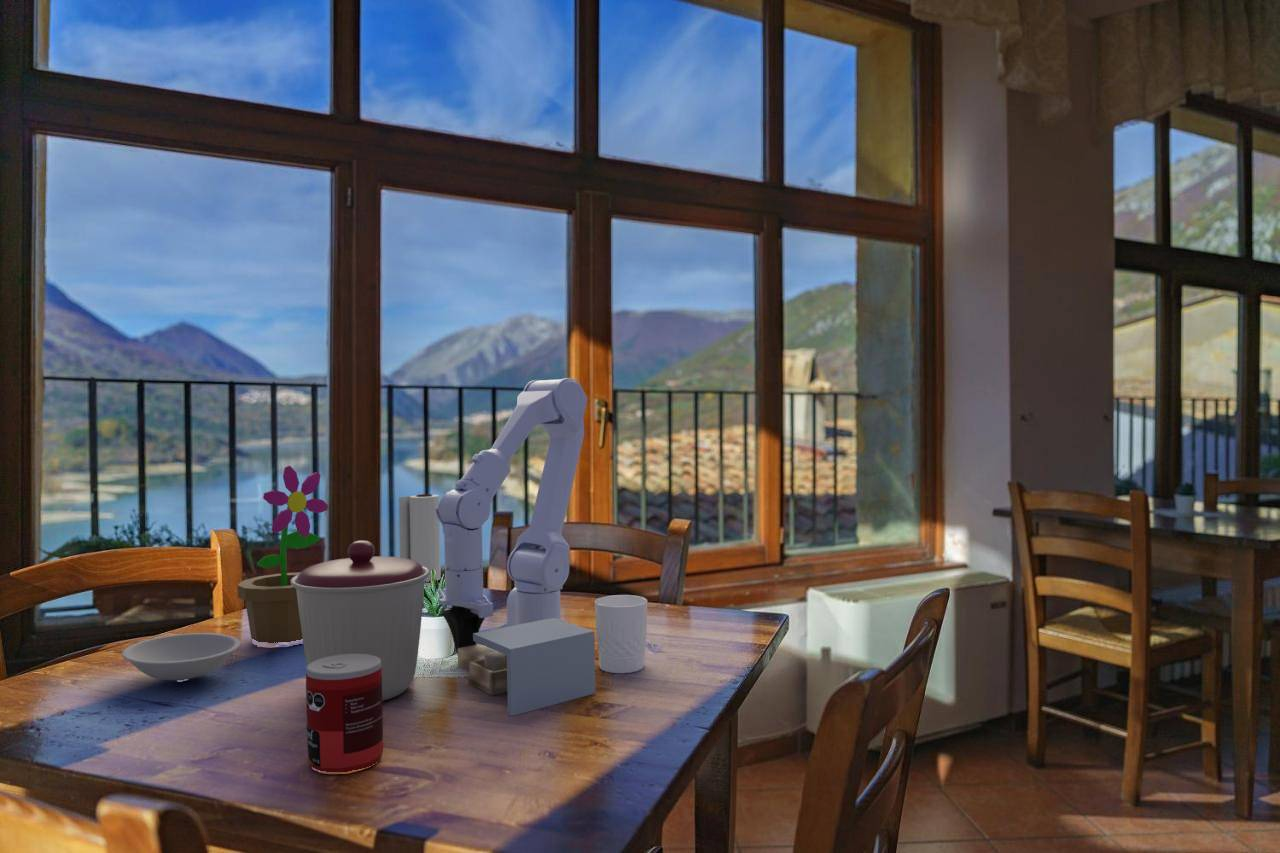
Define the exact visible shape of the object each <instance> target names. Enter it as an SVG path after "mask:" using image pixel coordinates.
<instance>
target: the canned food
mask: <svg viewBox="0 0 1280 853" xmlns="http://www.w3.org/2000/svg"><path fill="white" fill-rule="evenodd" d="M305 699H306V702H305V704H306V705H305V706H306V736H307V744H306V745H307V760H308V763H309V767H310V766H311V767H313V768H315V769H317V770H320V771H326V772H348V771H352V770H358V769H362V768H366V767H369V766H372V765H373V764H375V763H376V762H378V761H379V760H380V761H381V759H382V756H383V752H384V732H383V731H384V729H383V728H384V724H383V723H384V721H383V720H384V719H383V718H384V717H383V715H384V714H383V712H384V711H383V710H384V709H383V701H382V665H381V659H380V658H378V657H376V656H373V655H368V654H342V655H334V656H329V657H325V658H321V659H318V660H316V661H314V662H312V663H310V664H309V665H308V666H307V665H306V671H305ZM380 758H381V759H380ZM380 761H379V762H380ZM379 762H378V763H379ZM375 765H376V764H375ZM311 767H310V768H311Z"/></svg>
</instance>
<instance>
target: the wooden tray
mask: <svg viewBox="0 0 1280 853" xmlns="http://www.w3.org/2000/svg"><path fill="white" fill-rule="evenodd" d="M457 666H459V667H460V666H461V667H460V668H462V669H464V670H467V684H469V685H470V686H471V685H472V686H474V687H475V688H476V689H479V690H481V691H482V692H485V693H487V694H488V695H490V696H494V695H499V694H505V693H507V655H505V654H502V653H500V652H498V651H495V650H493V649H491V648H488V647H486V646H484V645H482V644H479V643H477V644H475V645H472V646H467V647H462V648H458V655H457Z"/></svg>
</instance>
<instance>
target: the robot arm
mask: <svg viewBox="0 0 1280 853" xmlns="http://www.w3.org/2000/svg"><path fill="white" fill-rule="evenodd" d="M516 401H517V404H516V407H515V408H514V410H513V412H512V413H511V414H510V417H509V418H508V420H507V421H506V423H505V425H504V426H503V428H502V430H501V431H500V433H499V434H498V436H497V438H496V440H495V441H494V442H493V445H492V446H491V448H490V449H483V450H481V451H479V453H475V454H474V455H473V457H472V458H470V461H471V462H472V463H470V466H468V469H467V470H466V472H465V473H464V474H463V475H462V477H461V479H458V480H457V481H456V483H455V487H454V489H450V490H449V491H446V492H445V493H444V494H443V495H442V496H441V498H440V499H439V507H438V508H436V516H437V518H438V520H439V521H440V525H442V534H443V535H444V536H443V537H444V540H443V541H444V543H443V544H444V582H445V583H444V584H445V586H444V587H445V588H441V589H440V590H438V594H439V595H440V596H441V597H442V598H441V599H439V600H438V599H437V602H438V604H439V605H441V606H451V607H450V609H446V610H443V611H442V617H443V619H445V621H446V623H447V625H448V627H449V630H450V633H451V636H452V640H453V643H454V648H455V651H456V655H457V656H458V648H462V647H467V646H472V645H477V644H476V643H477V642H475V641H473V633H479V632H480V629H481V626H482V624H483V623H484V621H485V619H486V618H489V617H494V604H493V602H491V601H489V599H488V598H487V597H486V595H485V594H484V573H483V572H484V570H483V568H484V567H483V525H484V524H485V523H486V522H487V521H488V520H489V518H490V514H491V504H492V502H493V498H494V496H495V495H496V494H497V492H498V491H499V489H500V487H501V486H502V485H503V483H504V482H505V480H506V478H507V477H508V476H509V474H510V472H511V465H510V460H511V459H512V458H513V456H514V455H515V454H516V452H517V450H519V448H520V447H521V446H522V445H523V443H524V442H525V441H526V439H527V438H528V437H529V435H530V434H531V433H532V431H533V430H534V429H535V428H536V427H537V426H538V425H540V426H541V427H542V428H543V430H544V431H545V432H546V433H547V435H548V436H549V438H550V440H549V444H548V448H547V451H546V457H545V460H544V465H543V470H542V473H541V478H540V481H539V486H538V491H537V494H536V498H535V503H534V505H533V510H532V515H531V519H530V524H529V527H528V528H527V529H526V530H525V531H523V532H522V533H521V534H520V535H518V537H517V539H516V544H515V546H514V548H513V549H512V550H511V552H510V554H509V556H508V557H507V561H506V571H507V575H508V576H509V578H510V579H511V580H512V581H514V583H513V584H514V588H513V589H511V591H510V592H509V594H508V596H507V600H506V623H507V624H506V627H509V626H514V625H519V624H524V623H529V622H535V621H540V620H545V619H550V618H556V619H559V620H562V619H561V590H563V586H564V584H565V583H566V581H567V579H568V577H569V574H570V562H569V560H570V559H569V557H570V556H569V555H570V550H571V547H570V545H569V543H568V542H567V541H566V539H565V537H564V536H563V534H562V533H563V529H564V525H565V519H566V516H567V511H568V507H569V504H570V499H571V494H572V491H573V490H572V489H573V486H574V485H573V484H574V480H575V478H576V473H577V468H578V464H579V458H580V455H581V451H582V445H583V441H584V437H585V423H584V420H585V419H584V416H585V412H586V408H587V403H588V397H587V394H586V393H585V390H584V389H583V388H582V386H581V384H580V383H579V381H578V380H576V379H575V378H572V377H566V378H561V379H546V380H545V379H544V380H541V379H534V380H530V381H529V382H527V383H526V385H525V386H524V388H523V391H521V392H520V393H519V394H518V395H517V400H516ZM543 548H544V549H543Z"/></svg>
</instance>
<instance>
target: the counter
mask: <svg viewBox="0 0 1280 853" xmlns="http://www.w3.org/2000/svg"><path fill="white" fill-rule="evenodd" d="M473 641H475V642H476V643H477V644H480V645H482V646H485V647H487V648H489V649H492V650H494V651H496V652H500V653H502V654H505V655H507V692H506V693H507V715H508V716H510V717H514V716H518V715H520V714H525V713H527V712H528V713H529V712H532V711H537V710H540V709H543V708H547V707H550V706H554V705H557V704H562V703H566V702H569V701H572V700H575V699H580V698H584V697H587V696H591V695H594V694H596V659H595V658H596V655H595V653H596V652H595V651H596V650H595V648H596V645H595V644H596V642H595V630H592V629H589V628H586V627H583V626H580V625H576V624H574V623H572V622H568V621H565V620H563V619H561V620H559V619H556V618H550V619H545V620H540V621H535V622H529V623H524V624H519V625H514V626H509V627H507V626H504V627H499V628H494V629H489V630H485V631H479V632H478V633H473Z"/></svg>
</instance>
